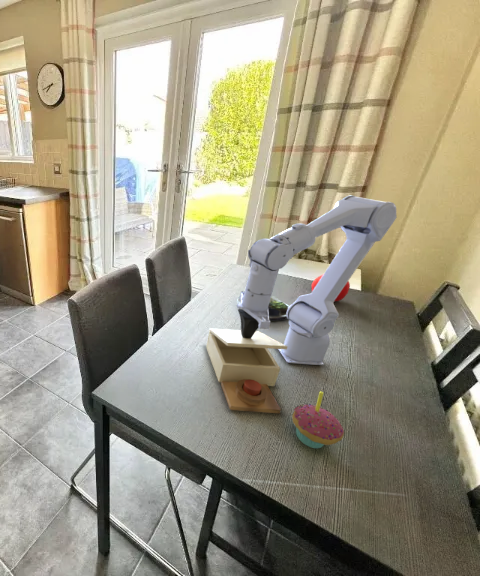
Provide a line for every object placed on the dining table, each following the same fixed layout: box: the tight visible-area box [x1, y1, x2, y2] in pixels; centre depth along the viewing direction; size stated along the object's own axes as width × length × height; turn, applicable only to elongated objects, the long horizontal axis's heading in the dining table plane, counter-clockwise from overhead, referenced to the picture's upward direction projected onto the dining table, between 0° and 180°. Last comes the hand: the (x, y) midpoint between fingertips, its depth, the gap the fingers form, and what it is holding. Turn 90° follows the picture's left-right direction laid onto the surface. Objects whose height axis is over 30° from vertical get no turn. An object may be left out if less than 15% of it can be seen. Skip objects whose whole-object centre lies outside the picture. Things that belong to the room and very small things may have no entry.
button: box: [243, 379, 261, 396], centre depth 72 cm, size 4×4×2 cm
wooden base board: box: [220, 379, 282, 414], centre depth 73 cm, size 11×8×3 cm
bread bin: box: [205, 330, 281, 387], centre depth 82 cm, size 15×14×6 cm
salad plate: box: [236, 290, 290, 322], centre depth 111 cm, size 19×18×5 cm
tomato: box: [311, 274, 351, 302], centre depth 115 cm, size 11×13×10 cm
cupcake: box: [291, 387, 345, 449], centre depth 61 cm, size 9×8×12 cm
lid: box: [209, 328, 287, 350], centre depth 80 cm, size 16×14×1 cm
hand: (246, 336), depth 79 cm, fingers closed
